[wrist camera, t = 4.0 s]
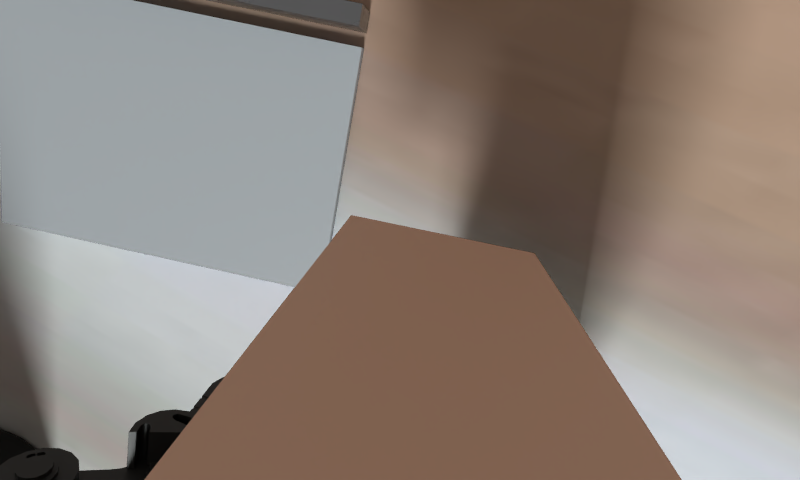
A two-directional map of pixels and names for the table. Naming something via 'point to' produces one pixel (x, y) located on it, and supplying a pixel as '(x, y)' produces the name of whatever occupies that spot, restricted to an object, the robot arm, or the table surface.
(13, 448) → the bottle
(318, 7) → the rail
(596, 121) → the table surface
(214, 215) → the shelf board
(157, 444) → the robot arm
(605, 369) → the tea box
